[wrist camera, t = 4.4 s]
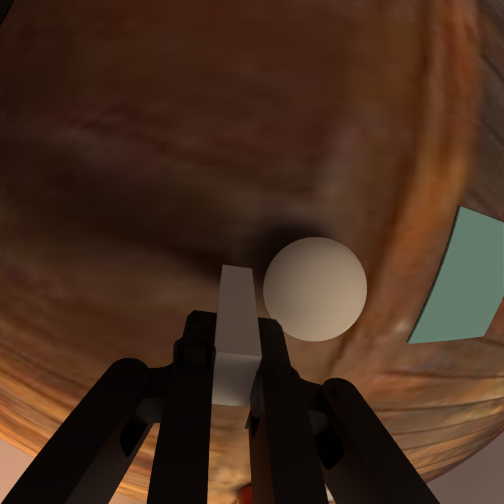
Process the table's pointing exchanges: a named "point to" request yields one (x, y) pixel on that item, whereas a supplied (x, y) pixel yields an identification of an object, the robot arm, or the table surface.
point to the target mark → (465, 281)
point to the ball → (315, 289)
